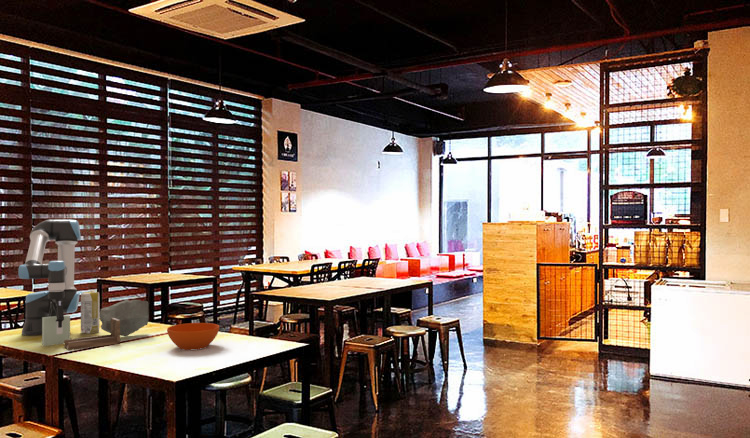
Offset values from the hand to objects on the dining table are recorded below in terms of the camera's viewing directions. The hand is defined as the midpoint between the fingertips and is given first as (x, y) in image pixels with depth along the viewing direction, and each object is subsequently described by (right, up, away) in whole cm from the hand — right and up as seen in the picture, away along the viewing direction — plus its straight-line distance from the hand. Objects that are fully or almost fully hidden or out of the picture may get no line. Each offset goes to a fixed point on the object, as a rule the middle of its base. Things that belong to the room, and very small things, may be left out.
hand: (56, 332), depth 300 cm
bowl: (+73, -6, -7) cm, 74 cm away
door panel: (0, -6, 0) cm, 6 cm away
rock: (+27, -6, +19) cm, 34 cm away
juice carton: (+2, -6, +30) cm, 31 cm away
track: (+20, -6, -3) cm, 21 cm away
